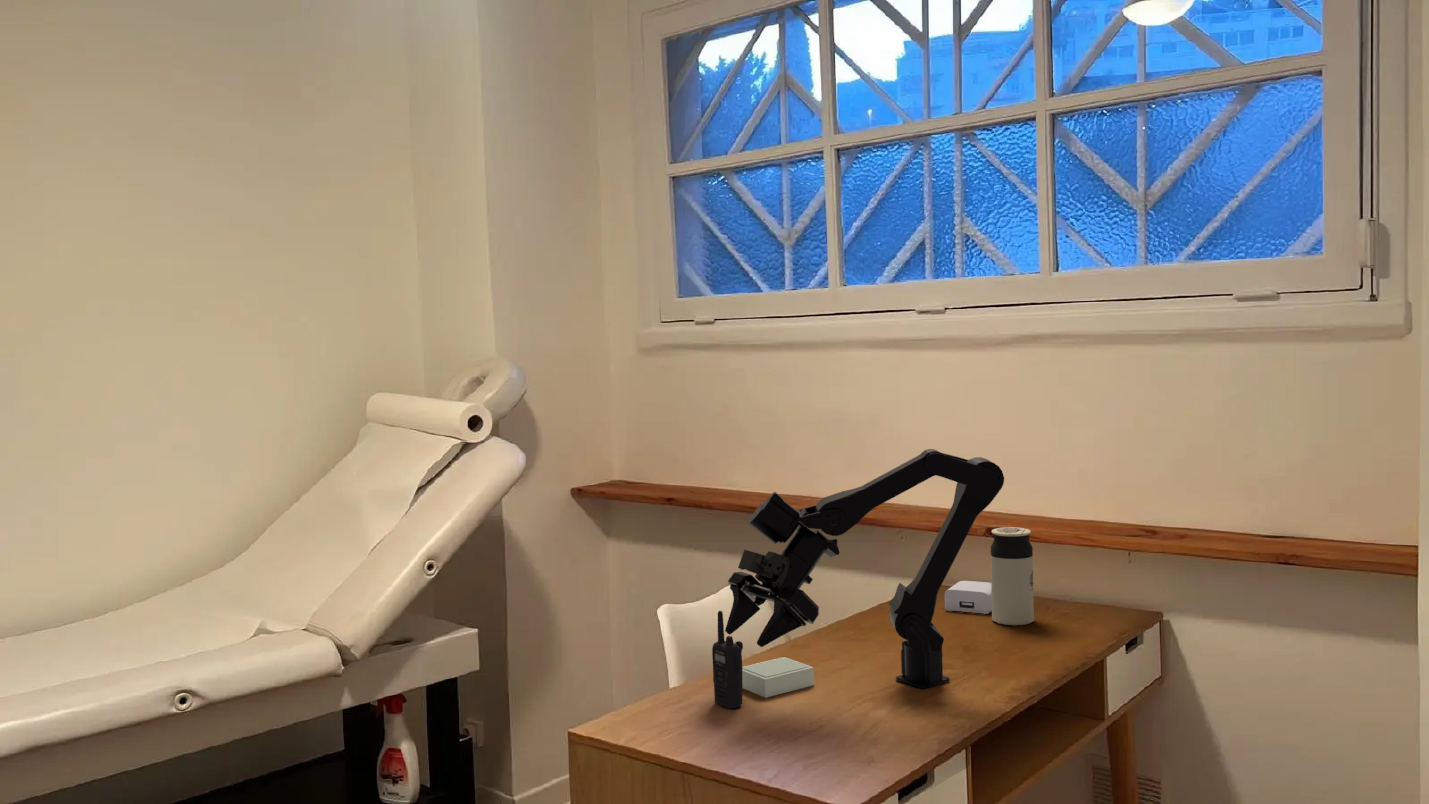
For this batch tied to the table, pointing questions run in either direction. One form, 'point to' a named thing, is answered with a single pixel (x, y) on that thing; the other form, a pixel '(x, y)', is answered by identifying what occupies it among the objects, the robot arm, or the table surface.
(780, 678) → the sage tile
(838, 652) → the table surface
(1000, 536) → the travel mug
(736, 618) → the robot arm
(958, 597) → the charger
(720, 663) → the two-way radio
